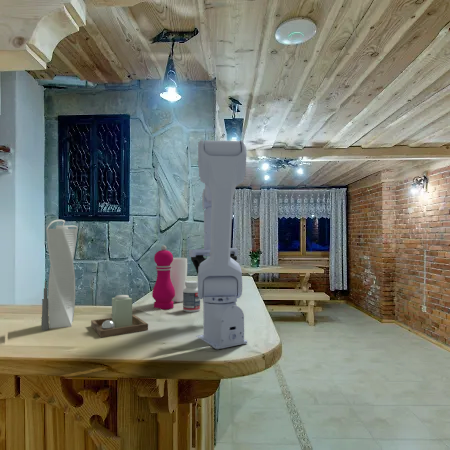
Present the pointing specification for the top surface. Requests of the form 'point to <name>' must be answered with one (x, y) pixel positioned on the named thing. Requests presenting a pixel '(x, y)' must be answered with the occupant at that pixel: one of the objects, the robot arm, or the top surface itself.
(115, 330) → the tray
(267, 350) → the top surface
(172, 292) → the pepper mill
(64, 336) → the top surface
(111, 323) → the steel ball
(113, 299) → the spice tin
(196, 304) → the pill bottle
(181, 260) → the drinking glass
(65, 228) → the skyscraper
